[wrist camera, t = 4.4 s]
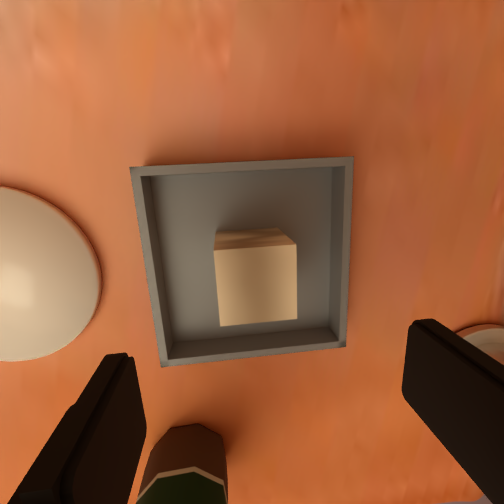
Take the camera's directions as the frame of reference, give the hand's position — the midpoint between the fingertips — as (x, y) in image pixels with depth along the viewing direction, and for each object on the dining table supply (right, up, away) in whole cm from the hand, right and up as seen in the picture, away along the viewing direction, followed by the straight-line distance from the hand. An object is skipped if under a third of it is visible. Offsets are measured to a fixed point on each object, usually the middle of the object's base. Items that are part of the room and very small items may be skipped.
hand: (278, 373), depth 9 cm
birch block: (-1, +3, +14) cm, 14 cm away
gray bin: (-1, +4, +14) cm, 15 cm away
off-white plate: (-20, +2, +13) cm, 24 cm away
